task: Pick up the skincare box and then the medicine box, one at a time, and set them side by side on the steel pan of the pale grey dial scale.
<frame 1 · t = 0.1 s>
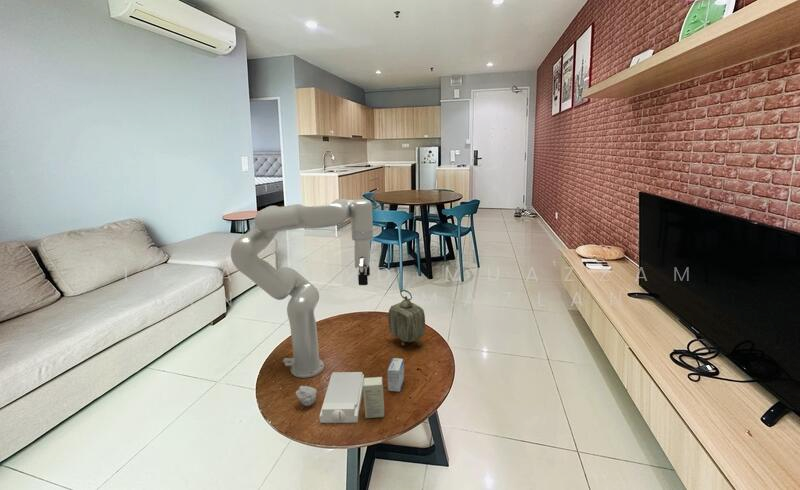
hand: (364, 280, 140), 37 cm above the table, tool pointing down, fingers open, 9 cm apart
medicine box: (396, 385, 139), on the table
skincare box: (374, 413, 125), on the table
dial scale: (343, 399, 132), on the table
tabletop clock: (406, 344, 167), on the table
grey lumpy chunk: (307, 404, 130), on the table
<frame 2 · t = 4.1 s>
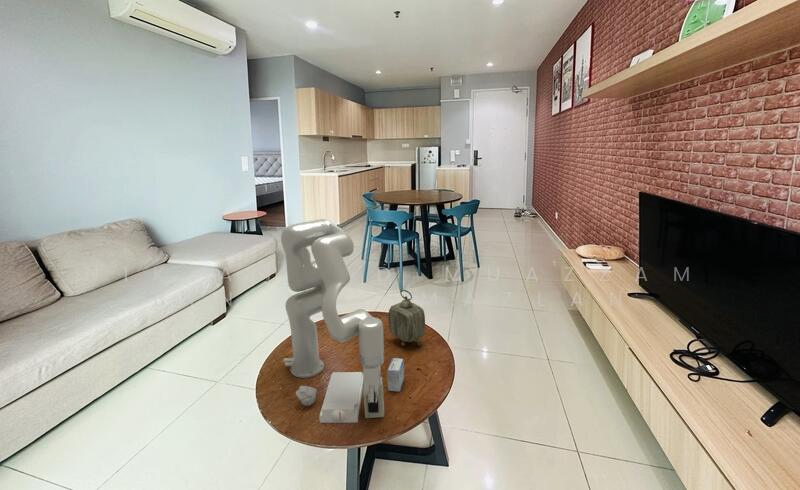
hand: (374, 406, 124), 3 cm above the table, tool pointing down, fingers closed on skincare box, 4 cm apart
skincare box: (374, 413, 125), on the table, touching gripper
everything else where it was.
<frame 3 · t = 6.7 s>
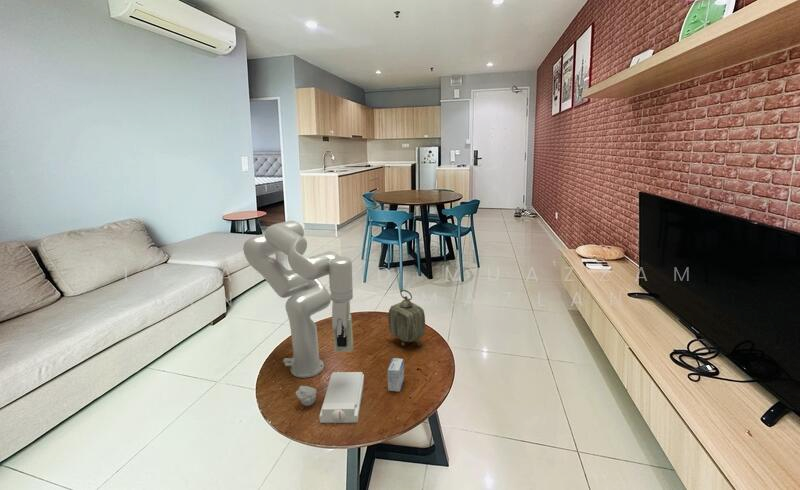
hand: (343, 341, 133), 19 cm above the table, tool pointing down, fingers closed on skincare box, 4 cm apart
skincare box: (343, 349, 134), point 16 cm above the table, touching gripper
everything else where it was.
when the fingers open (8 cm above the table, at t = 9.3 s): skincare box drops 1 cm, resting on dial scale.
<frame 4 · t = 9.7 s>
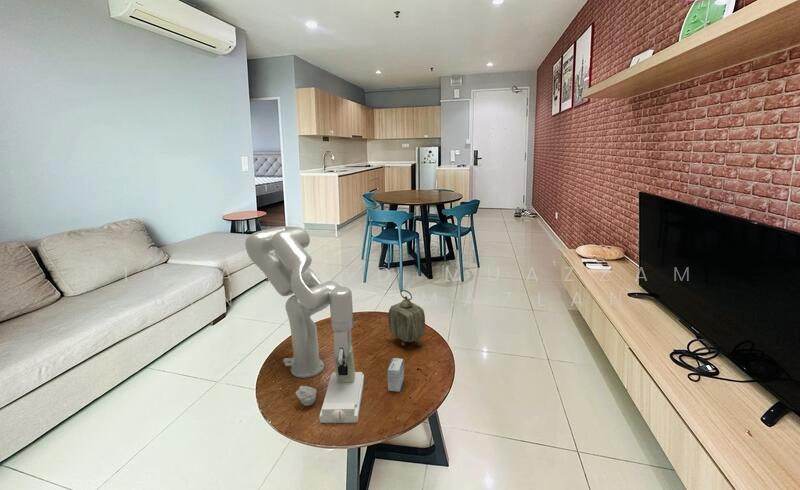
hand: (345, 367, 136), 9 cm above the table, tool pointing down, fingers open, 8 cm apart
skincare box: (345, 379, 137), point 3 cm above the table, touching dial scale
everything else where it was.
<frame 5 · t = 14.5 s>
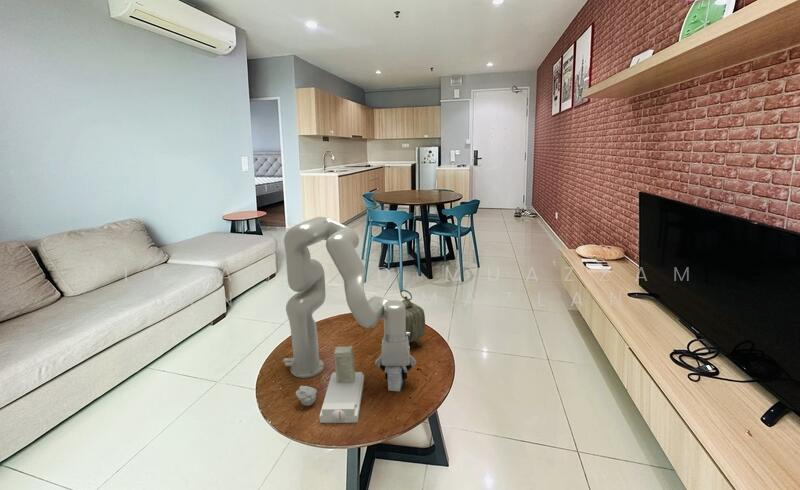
hand: (396, 380, 139), 2 cm above the table, tool pointing down, fingers closed on medicine box, 5 cm apart
medicine box: (396, 385, 139), on the table, touching gripper
everything else where it was.
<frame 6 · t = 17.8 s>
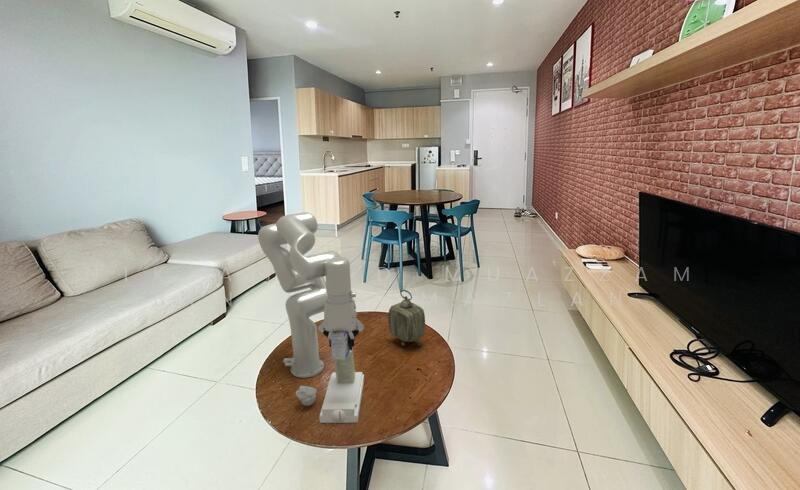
hand: (342, 347, 124), 21 cm above the table, tool pointing down, fingers closed on medicine box, 5 cm apart
medicine box: (342, 353, 125), point 19 cm above the table, touching gripper
everything else where it was.
when the fingers open (7 cm above the table, at t = 21.1 s): medicine box drops 1 cm, resting on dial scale.
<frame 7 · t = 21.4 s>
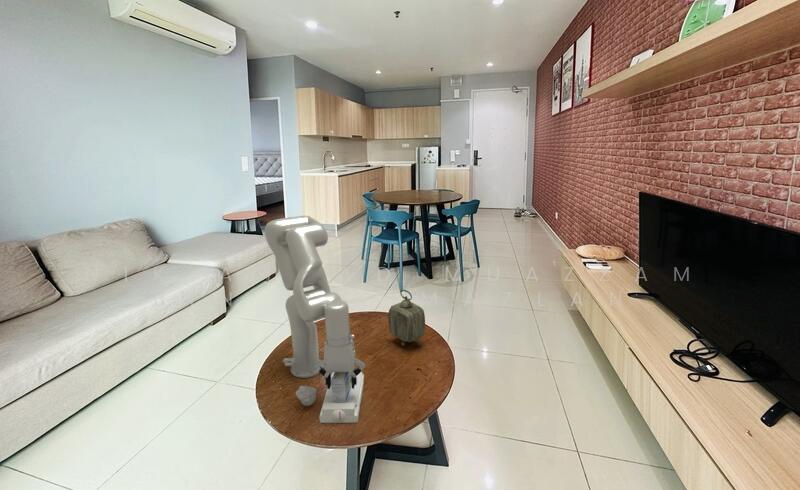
hand: (341, 385, 127), 7 cm above the table, tool pointing down, fingers open, 7 cm apart
medicine box: (341, 396, 129), point 3 cm above the table, touching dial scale
everything else where it was.
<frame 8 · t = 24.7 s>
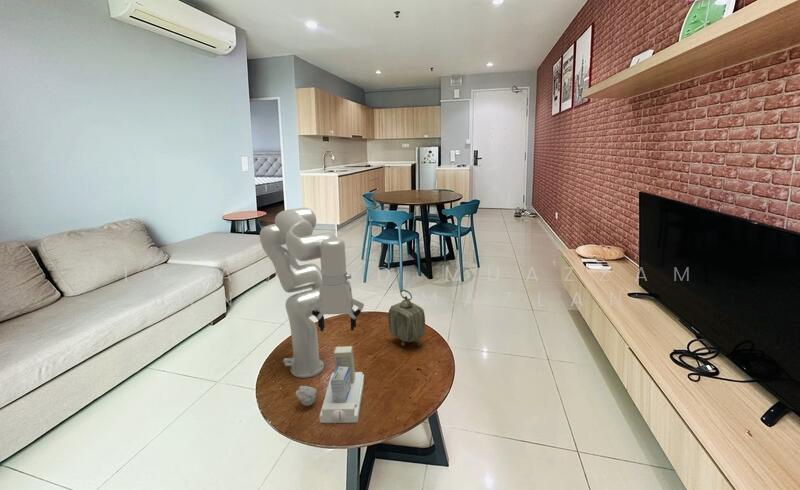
hand: (337, 328, 122), 28 cm above the table, tool pointing down, fingers open, 9 cm apart
nothing on the table moved.
at the end: skincare box inside the target area on the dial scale (0.2 cm from its centre), point 3.3 cm above the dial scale's base; medicine box inside the target area on the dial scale (0.7 cm from its centre), point 3.3 cm above the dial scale's base; skincare box tilted 0° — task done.
